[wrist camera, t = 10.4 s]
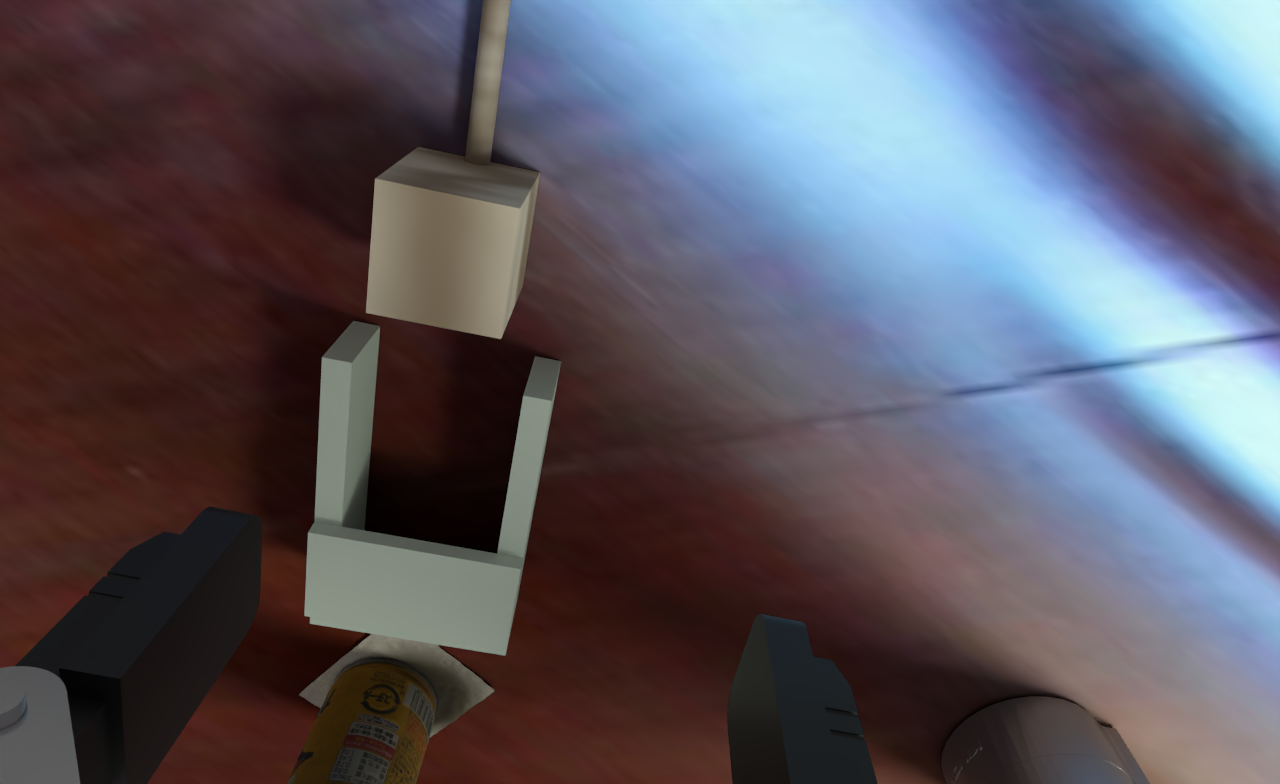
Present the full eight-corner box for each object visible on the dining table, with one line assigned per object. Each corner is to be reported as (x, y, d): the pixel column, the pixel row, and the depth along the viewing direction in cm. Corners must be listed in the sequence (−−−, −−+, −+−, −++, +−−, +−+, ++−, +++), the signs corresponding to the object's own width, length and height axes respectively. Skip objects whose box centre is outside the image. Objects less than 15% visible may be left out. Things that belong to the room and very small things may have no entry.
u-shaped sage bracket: (561, 361, 38) (550, 410, 34) (517, 600, 44) (502, 667, 40) (353, 320, 37) (314, 365, 33) (337, 570, 44) (303, 635, 39)
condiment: (299, 692, 48) (198, 901, 37) (394, 612, 45) (314, 812, 34) (400, 758, 50) (331, 973, 39) (496, 686, 47) (450, 895, 36)
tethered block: (598, -207, 29) (584, -258, 22) (522, 285, 37) (496, 349, 30) (453, -243, 28) (397, -306, 22) (408, 263, 36) (357, 323, 30)
